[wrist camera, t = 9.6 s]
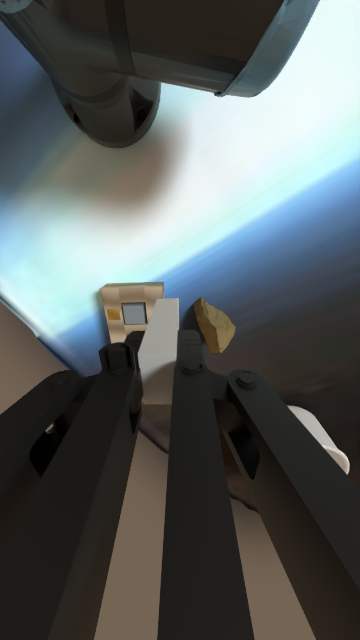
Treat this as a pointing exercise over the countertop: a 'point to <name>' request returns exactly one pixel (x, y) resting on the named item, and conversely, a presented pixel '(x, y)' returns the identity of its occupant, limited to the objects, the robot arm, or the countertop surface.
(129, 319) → the button
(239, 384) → the robot arm
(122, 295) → the button panel
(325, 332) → the countertop surface
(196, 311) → the rock
